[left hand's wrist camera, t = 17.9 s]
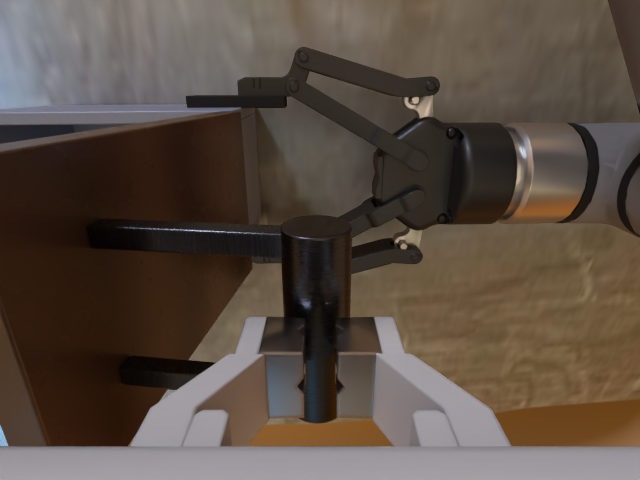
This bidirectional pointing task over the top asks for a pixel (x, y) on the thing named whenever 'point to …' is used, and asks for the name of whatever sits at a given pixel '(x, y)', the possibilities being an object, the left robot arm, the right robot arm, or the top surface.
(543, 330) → the top surface
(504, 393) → the top surface
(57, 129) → the chest
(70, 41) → the top surface
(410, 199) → the right robot arm
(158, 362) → the block with bar handle
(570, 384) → the top surface
